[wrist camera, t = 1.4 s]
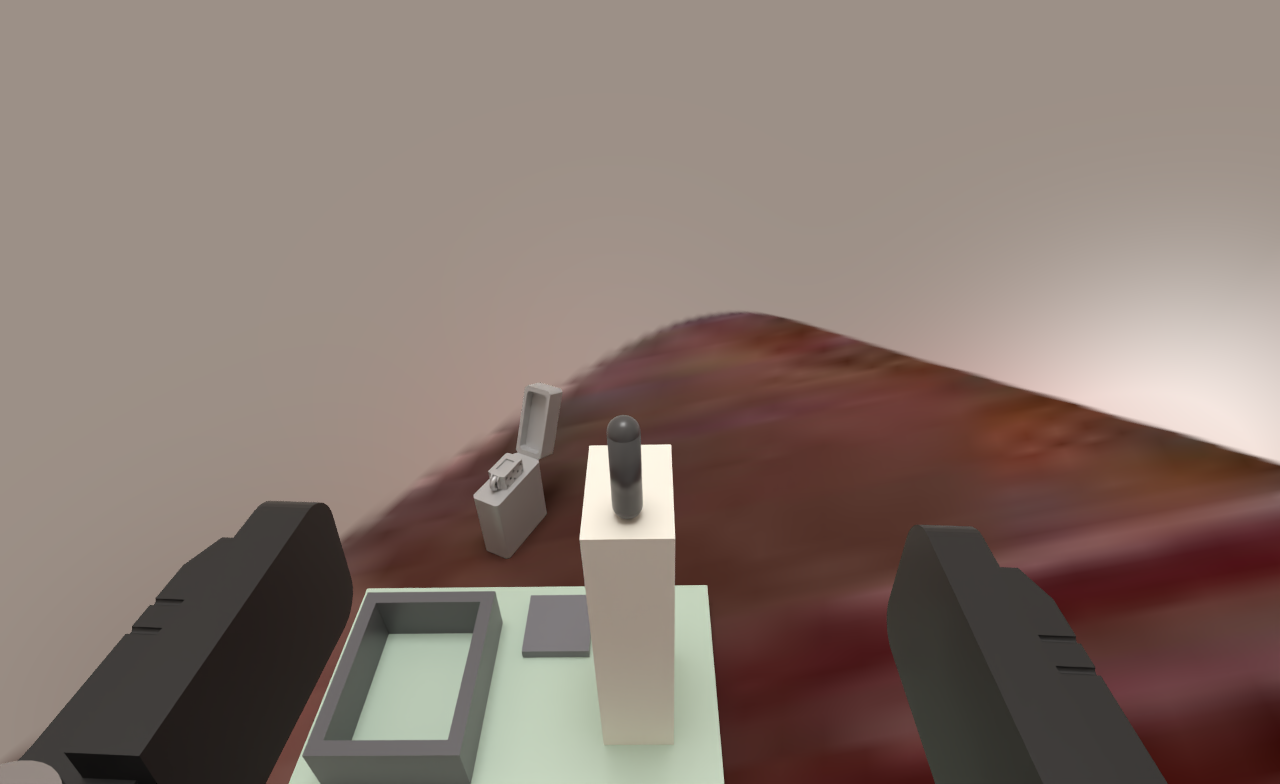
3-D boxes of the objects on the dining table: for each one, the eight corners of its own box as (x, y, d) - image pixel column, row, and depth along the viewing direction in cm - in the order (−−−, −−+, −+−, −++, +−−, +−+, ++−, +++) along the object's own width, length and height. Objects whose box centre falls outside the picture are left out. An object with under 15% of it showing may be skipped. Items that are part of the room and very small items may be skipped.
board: (706, 599, 36) (708, 553, 34) (727, 856, 27) (732, 815, 24) (373, 602, 37) (354, 557, 34) (275, 856, 27) (239, 816, 25)
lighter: (508, 559, 39) (486, 455, 34) (484, 549, 39) (458, 445, 35) (573, 481, 44) (561, 381, 39) (551, 473, 44) (537, 373, 40)
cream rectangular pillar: (670, 649, 33) (671, 352, 22) (673, 744, 29) (675, 441, 19) (608, 650, 33) (580, 354, 23) (603, 745, 29) (568, 443, 19)
